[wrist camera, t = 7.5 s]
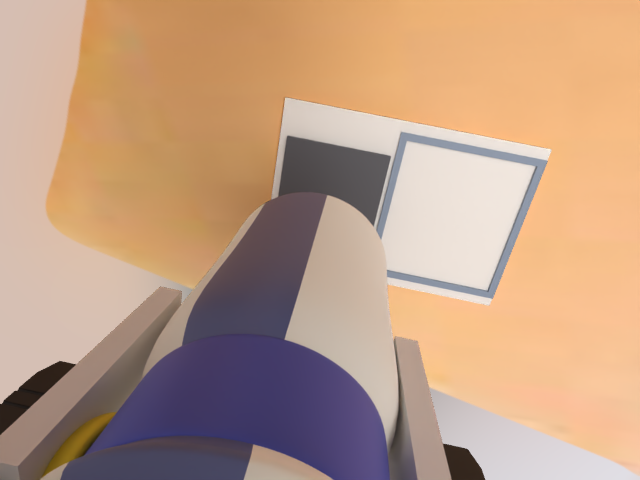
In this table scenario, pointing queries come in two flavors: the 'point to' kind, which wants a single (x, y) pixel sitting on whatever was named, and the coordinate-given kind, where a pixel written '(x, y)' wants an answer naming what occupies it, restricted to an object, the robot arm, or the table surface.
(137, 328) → the robot arm
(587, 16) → the table surface
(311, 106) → the stamp station
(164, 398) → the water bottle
